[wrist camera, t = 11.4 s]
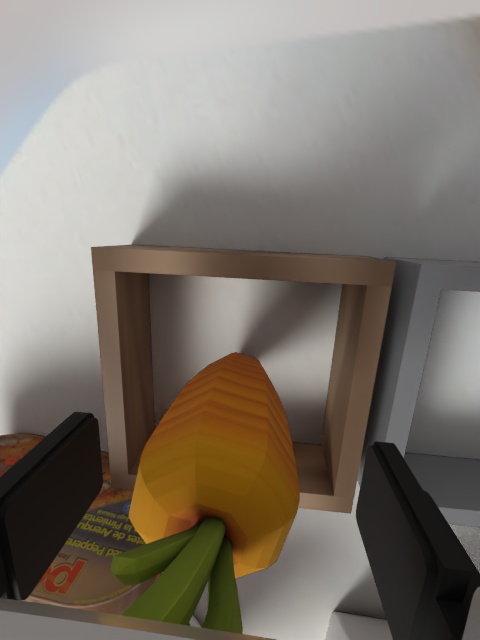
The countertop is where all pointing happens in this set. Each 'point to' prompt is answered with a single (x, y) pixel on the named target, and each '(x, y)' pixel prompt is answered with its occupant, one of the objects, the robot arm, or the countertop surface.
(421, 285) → the charcoal bin
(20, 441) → the tin
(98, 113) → the countertop surface
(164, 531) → the carrot
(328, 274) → the frame
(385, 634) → the alarm clock
